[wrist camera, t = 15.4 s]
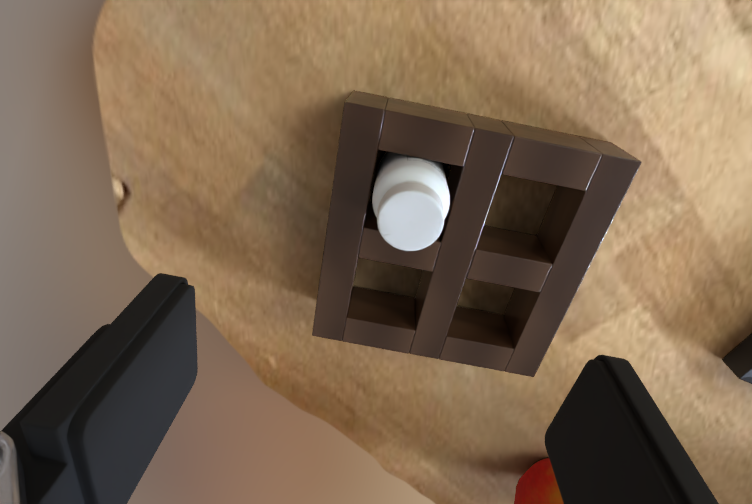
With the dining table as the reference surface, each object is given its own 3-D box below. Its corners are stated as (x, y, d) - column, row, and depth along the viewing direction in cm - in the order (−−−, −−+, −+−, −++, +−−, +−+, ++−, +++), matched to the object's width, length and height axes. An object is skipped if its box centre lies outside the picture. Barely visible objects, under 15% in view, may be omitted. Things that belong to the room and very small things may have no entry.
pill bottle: (396, 213, 30) (391, 271, 23) (366, 158, 28) (352, 204, 22) (454, 187, 29) (467, 240, 22) (426, 128, 27) (432, 166, 20)
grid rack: (321, 303, 34) (311, 335, 31) (353, 90, 26) (344, 101, 23) (521, 340, 35) (533, 377, 31) (612, 142, 27) (642, 161, 23)
